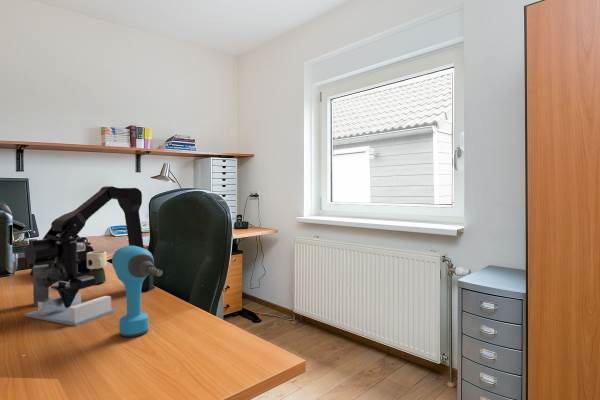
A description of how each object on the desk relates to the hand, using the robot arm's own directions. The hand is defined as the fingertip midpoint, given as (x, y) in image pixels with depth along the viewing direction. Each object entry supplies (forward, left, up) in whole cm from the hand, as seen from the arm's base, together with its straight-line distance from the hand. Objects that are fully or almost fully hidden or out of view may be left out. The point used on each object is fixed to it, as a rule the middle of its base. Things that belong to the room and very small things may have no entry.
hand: (67, 307), depth 110 cm
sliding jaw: (+3, -1, -1) cm, 3 cm away
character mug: (+14, -35, -2) cm, 38 cm away
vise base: (-1, +1, -2) cm, 2 cm away
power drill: (-32, +17, -2) cm, 37 cm away
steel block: (+16, -8, -2) cm, 18 cm away
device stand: (+38, -51, -2) cm, 63 cm away
